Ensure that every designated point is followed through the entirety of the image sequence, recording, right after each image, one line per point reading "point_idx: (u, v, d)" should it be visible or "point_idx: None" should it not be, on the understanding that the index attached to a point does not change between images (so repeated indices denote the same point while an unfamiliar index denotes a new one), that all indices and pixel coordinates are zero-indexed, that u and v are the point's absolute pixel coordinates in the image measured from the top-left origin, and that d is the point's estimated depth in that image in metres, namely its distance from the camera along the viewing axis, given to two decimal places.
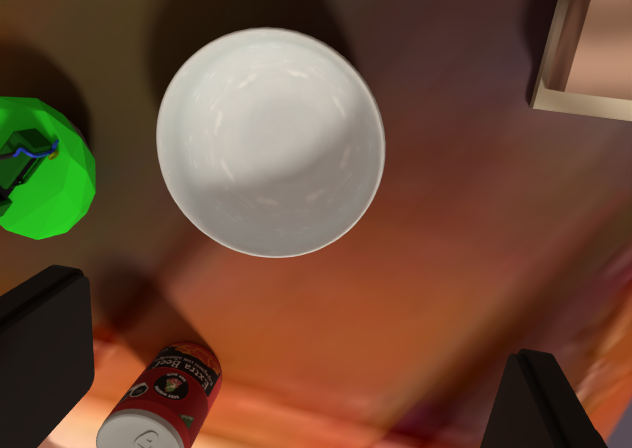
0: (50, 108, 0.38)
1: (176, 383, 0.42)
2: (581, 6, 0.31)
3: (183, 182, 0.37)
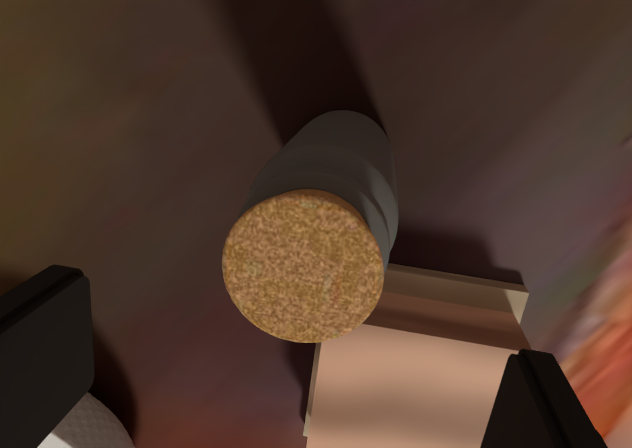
0: None
1: None
2: None
3: None
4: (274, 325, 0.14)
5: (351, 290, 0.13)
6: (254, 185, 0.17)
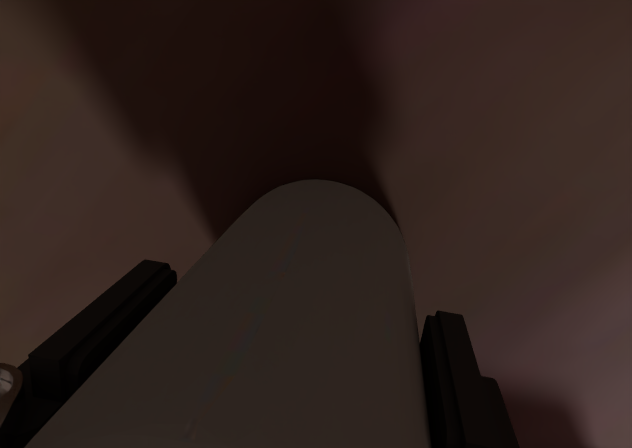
0: None
1: None
2: None
3: None
4: None
5: None
6: None
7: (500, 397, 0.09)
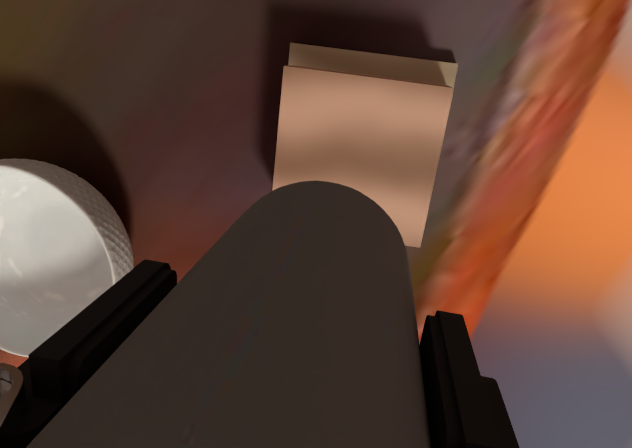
0: None
1: None
2: None
3: None
4: None
5: None
6: None
7: (500, 397, 0.09)
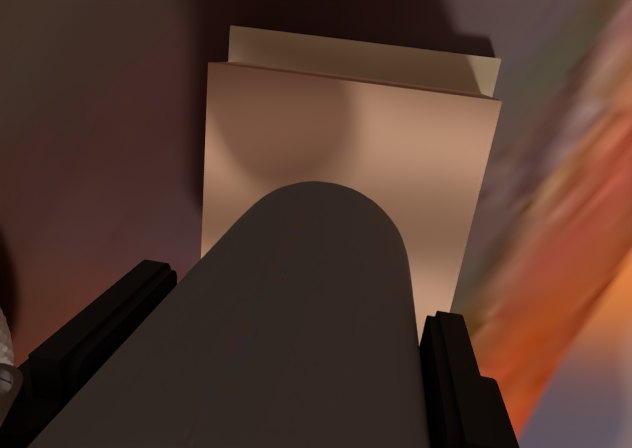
0: None
1: None
2: None
3: None
4: None
5: None
6: None
7: (499, 397, 0.09)
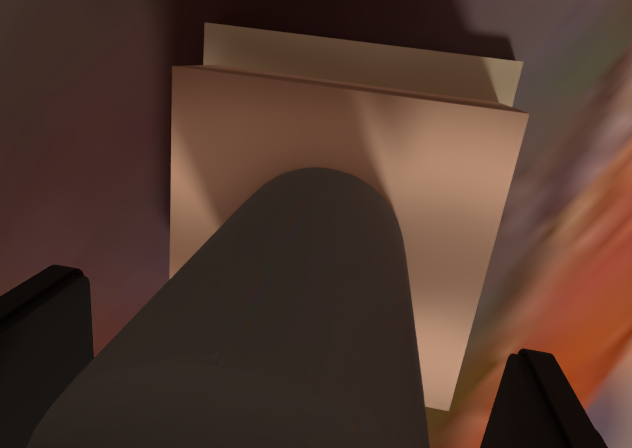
0: None
1: None
2: None
3: None
4: None
5: None
6: None
7: None
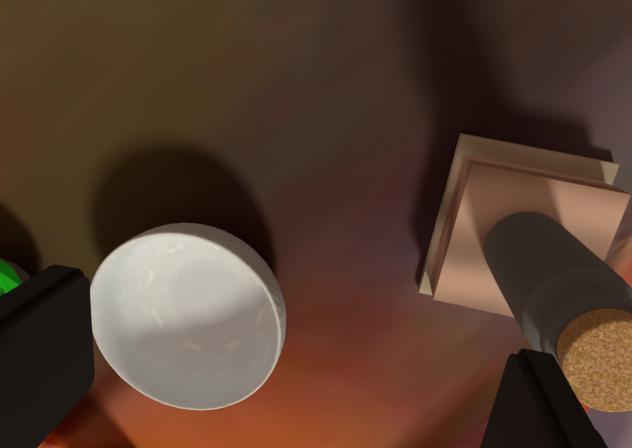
0: (0, 262, 0.43)
1: None
2: (449, 230, 0.36)
3: (113, 336, 0.42)
4: (590, 399, 0.21)
5: None
6: (537, 291, 0.24)
7: None
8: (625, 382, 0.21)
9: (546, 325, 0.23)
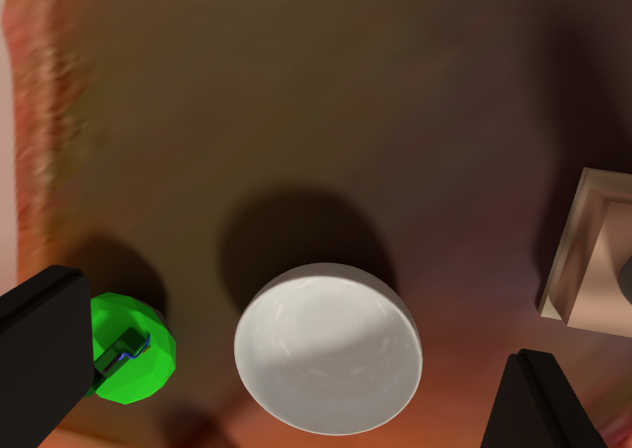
0: (141, 305, 0.46)
1: None
2: (580, 261, 0.39)
3: (252, 370, 0.45)
4: None
5: None
6: None
7: None
8: None
9: None
